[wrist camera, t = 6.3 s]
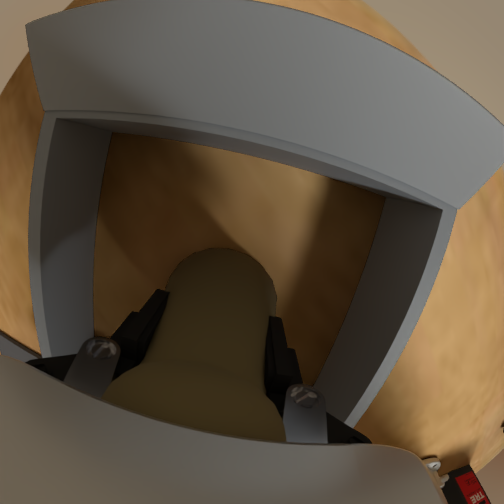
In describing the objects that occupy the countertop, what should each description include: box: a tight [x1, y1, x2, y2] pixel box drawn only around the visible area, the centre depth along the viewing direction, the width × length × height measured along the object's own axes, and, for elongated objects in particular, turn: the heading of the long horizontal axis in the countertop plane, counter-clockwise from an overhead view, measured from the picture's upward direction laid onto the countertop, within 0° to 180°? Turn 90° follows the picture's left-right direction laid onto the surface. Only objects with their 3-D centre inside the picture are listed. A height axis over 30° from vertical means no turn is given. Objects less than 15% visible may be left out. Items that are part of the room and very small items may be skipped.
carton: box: [25, 0, 504, 428], centre depth 11 cm, size 17×22×8 cm
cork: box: [101, 248, 287, 442], centre depth 9 cm, size 6×6×11 cm
